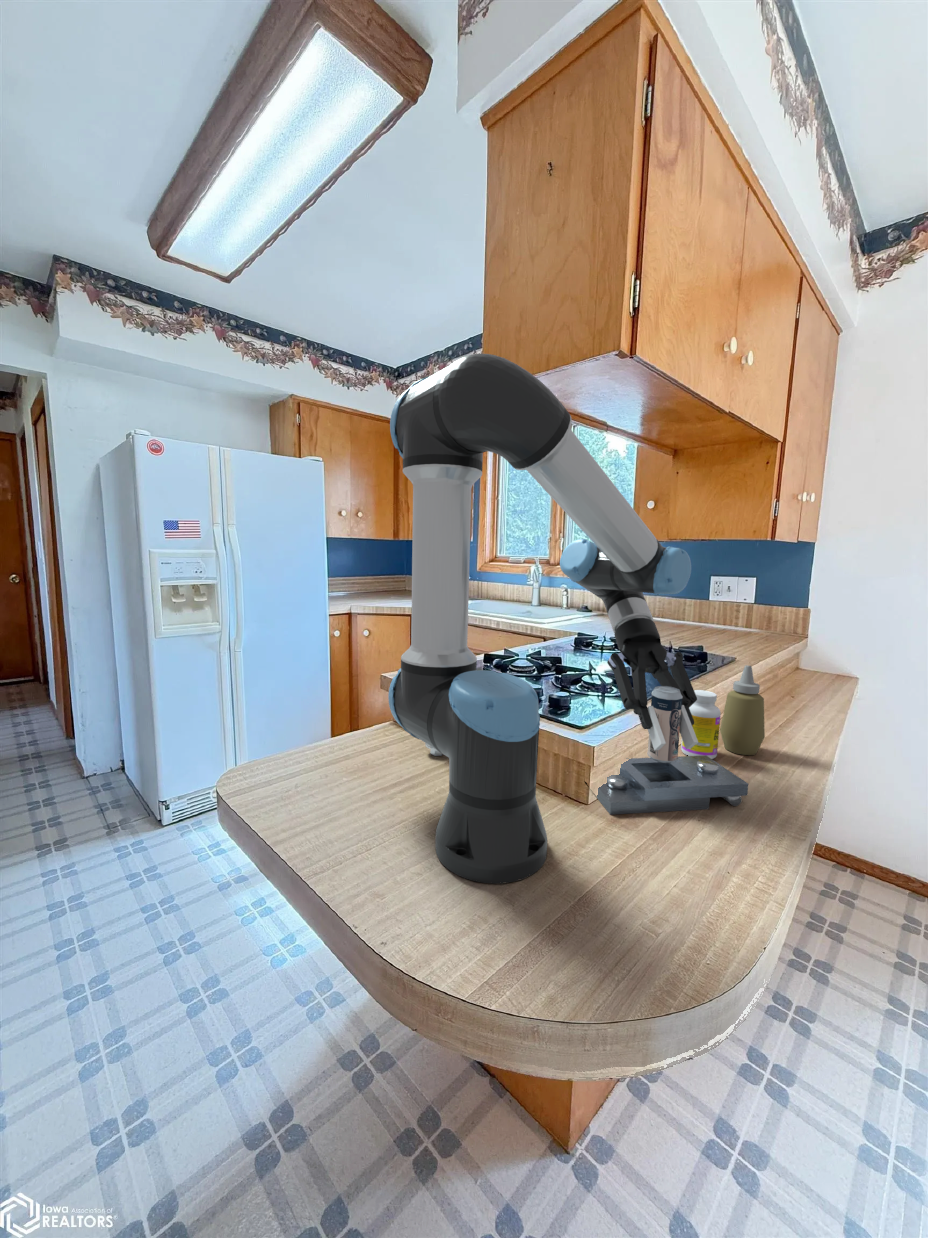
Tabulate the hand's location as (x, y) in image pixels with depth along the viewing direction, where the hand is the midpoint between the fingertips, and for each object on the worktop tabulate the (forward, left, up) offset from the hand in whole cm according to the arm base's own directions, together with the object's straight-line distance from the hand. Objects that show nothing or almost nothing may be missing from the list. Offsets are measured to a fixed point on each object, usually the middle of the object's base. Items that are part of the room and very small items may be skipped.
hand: (676, 746), depth 77 cm
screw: (-36, +24, -10) cm, 44 cm away
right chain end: (+3, +4, -10) cm, 11 cm away
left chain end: (-3, +4, -10) cm, 11 cm away
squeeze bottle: (+27, +20, -10) cm, 35 cm away
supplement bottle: (+17, +19, -10) cm, 27 cm away
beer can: (0, +4, -4) cm, 5 cm away
